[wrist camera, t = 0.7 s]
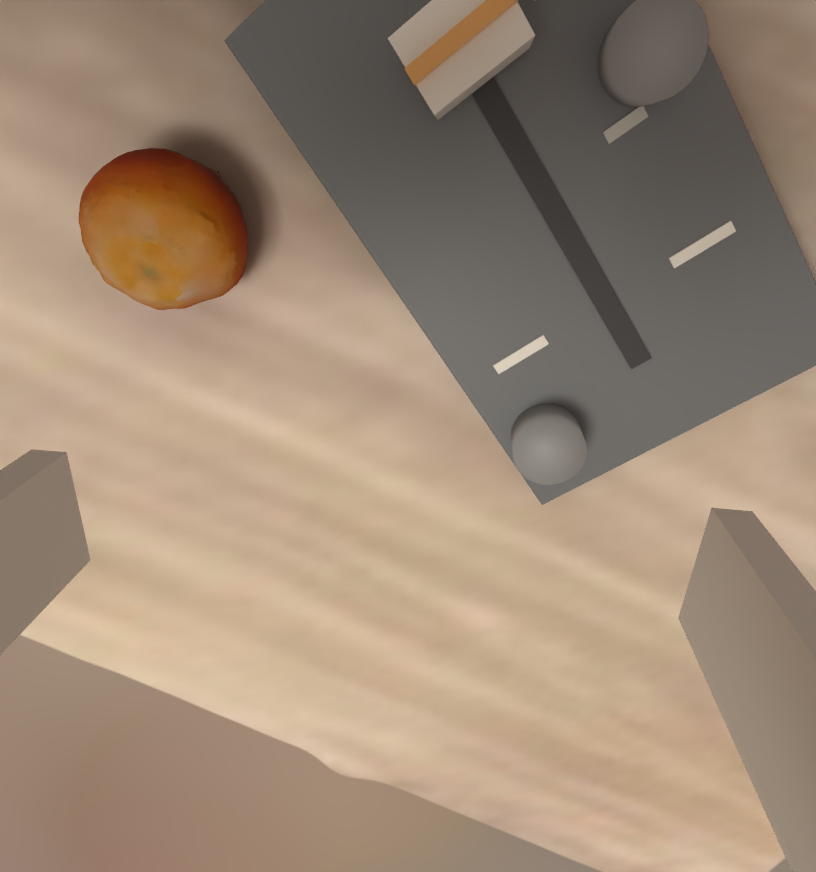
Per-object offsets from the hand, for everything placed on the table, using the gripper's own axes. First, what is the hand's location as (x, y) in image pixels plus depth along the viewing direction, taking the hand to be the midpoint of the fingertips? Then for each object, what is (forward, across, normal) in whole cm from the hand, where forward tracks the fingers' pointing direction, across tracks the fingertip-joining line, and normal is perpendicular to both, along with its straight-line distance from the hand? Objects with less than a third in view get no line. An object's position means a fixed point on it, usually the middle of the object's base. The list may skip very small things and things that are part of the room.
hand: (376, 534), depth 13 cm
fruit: (+25, -14, +3) cm, 29 cm away
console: (+24, +5, +5) cm, 26 cm away
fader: (+23, 0, +12) cm, 25 cm away
